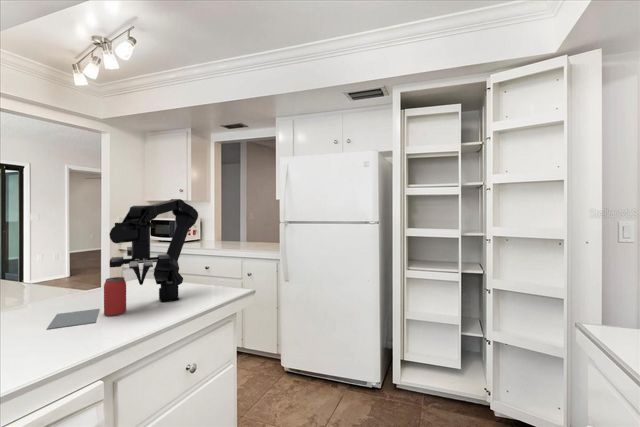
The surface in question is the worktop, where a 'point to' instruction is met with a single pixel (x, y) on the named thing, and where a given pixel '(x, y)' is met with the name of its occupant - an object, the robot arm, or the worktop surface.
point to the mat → (74, 318)
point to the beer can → (114, 296)
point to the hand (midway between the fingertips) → (141, 284)
